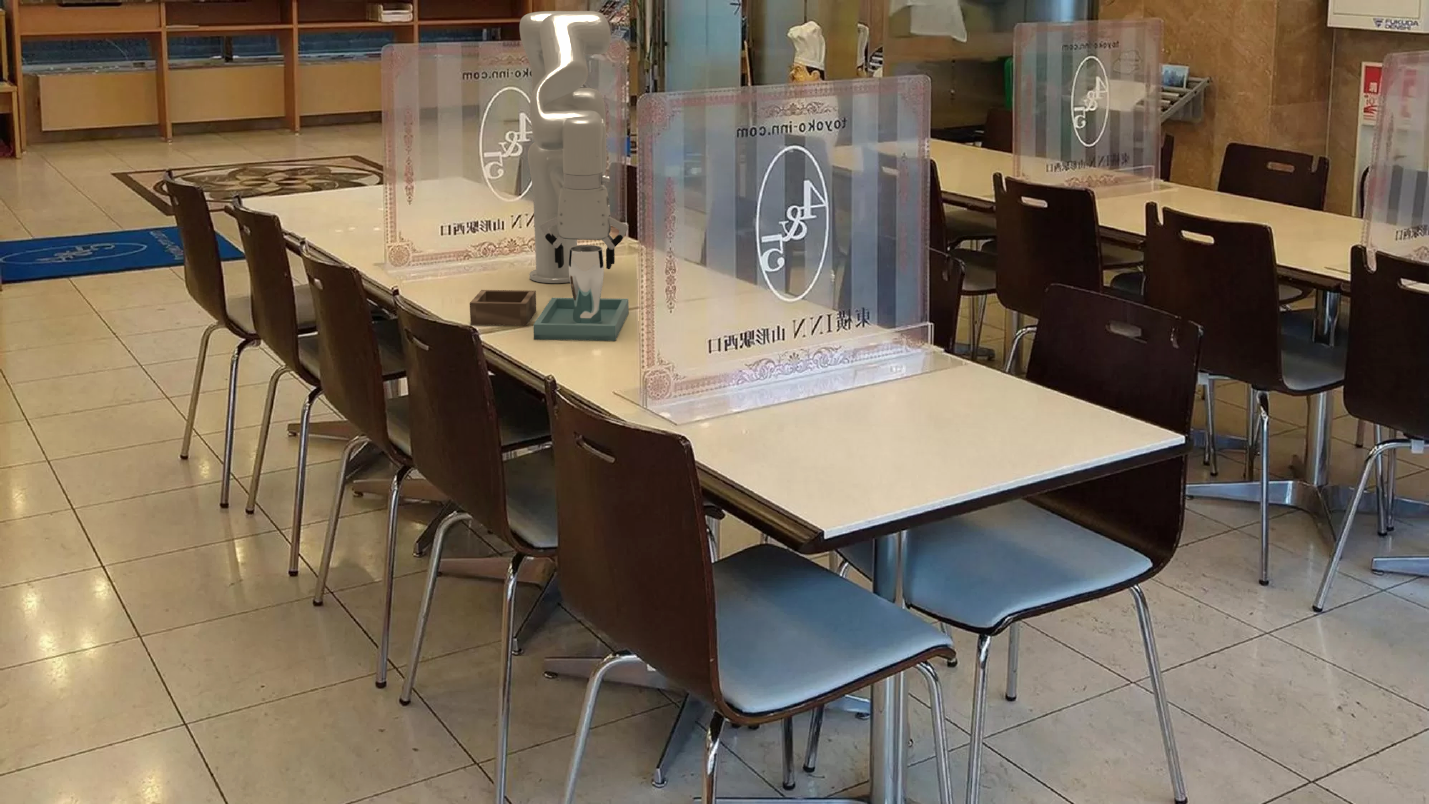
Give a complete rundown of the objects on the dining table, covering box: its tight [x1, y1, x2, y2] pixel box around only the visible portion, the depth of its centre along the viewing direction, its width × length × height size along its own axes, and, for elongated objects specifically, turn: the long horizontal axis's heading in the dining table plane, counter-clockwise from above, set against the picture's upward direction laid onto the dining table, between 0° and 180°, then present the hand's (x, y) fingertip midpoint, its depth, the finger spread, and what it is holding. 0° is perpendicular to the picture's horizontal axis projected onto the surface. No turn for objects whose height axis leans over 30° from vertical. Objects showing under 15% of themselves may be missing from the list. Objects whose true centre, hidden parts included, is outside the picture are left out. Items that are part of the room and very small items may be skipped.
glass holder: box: [469, 289, 537, 327], centre depth 306 cm, size 11×11×4 cm
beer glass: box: [569, 244, 605, 324], centre depth 297 cm, size 7×7×15 cm
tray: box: [532, 297, 630, 342], centre depth 300 cm, size 22×16×3 cm
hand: (585, 267), depth 296 cm, fingers open, 9 cm apart
